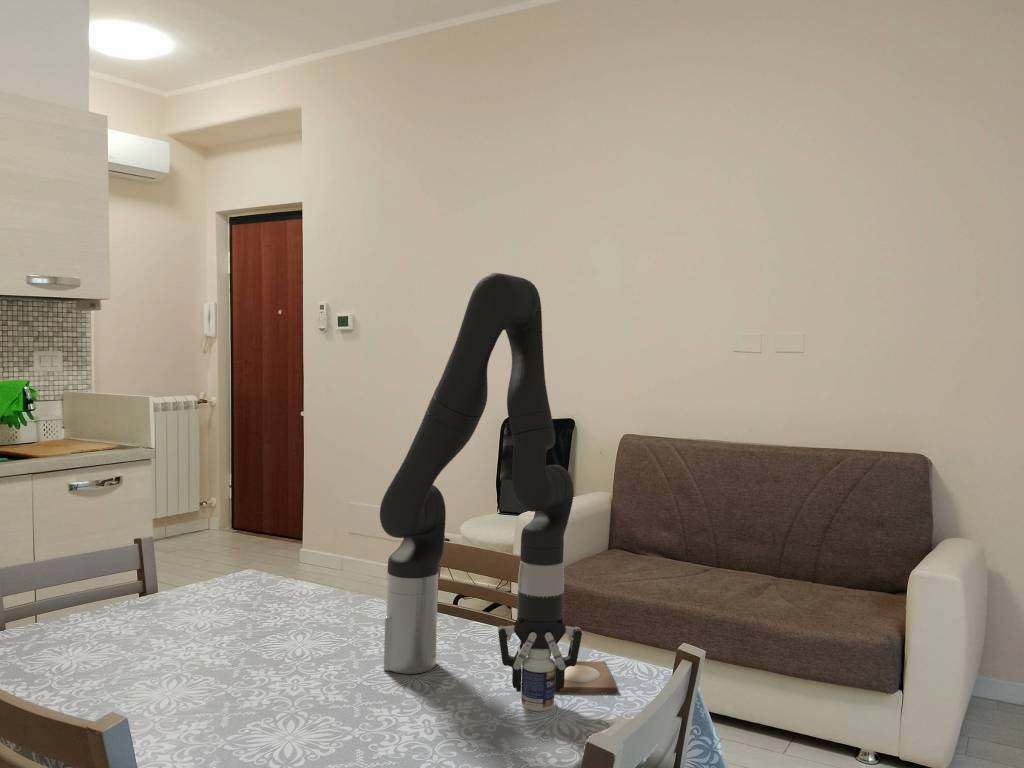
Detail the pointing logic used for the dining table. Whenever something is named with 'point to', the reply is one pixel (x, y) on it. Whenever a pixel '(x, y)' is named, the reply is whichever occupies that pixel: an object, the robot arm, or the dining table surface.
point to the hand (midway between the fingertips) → (538, 689)
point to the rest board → (588, 678)
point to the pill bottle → (538, 680)
